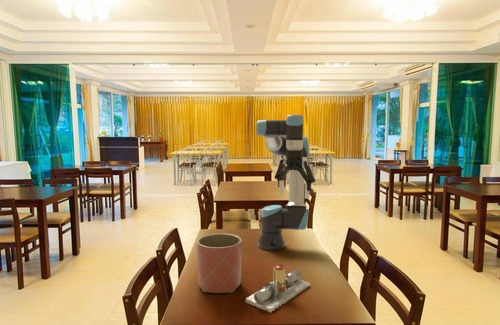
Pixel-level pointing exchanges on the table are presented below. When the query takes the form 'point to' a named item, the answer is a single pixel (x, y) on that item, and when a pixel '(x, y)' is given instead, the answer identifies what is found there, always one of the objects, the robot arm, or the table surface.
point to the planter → (219, 262)
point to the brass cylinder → (279, 277)
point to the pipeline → (272, 298)
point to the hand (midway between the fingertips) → (293, 196)
